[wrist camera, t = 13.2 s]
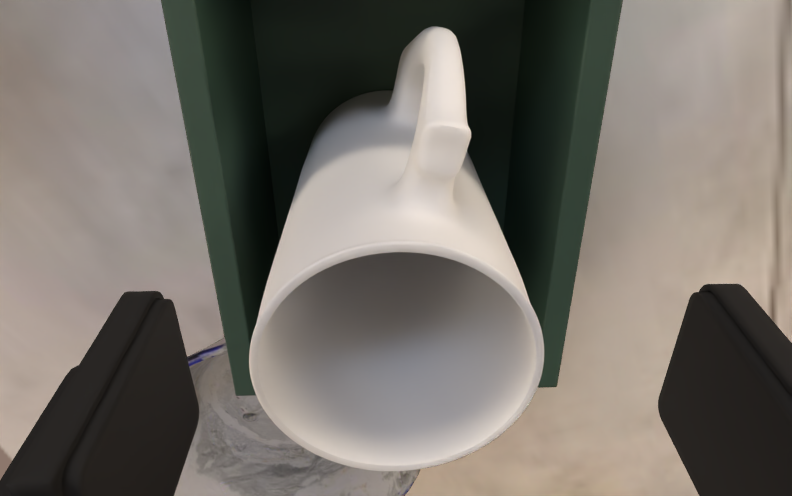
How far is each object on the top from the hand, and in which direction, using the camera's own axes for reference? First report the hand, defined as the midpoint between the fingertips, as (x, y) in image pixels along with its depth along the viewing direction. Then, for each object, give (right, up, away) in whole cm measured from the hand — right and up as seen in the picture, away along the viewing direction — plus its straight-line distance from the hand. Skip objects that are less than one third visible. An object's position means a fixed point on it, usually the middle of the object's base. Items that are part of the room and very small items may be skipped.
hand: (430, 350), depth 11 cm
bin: (-1, +7, +13) cm, 15 cm away
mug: (-1, +7, +12) cm, 14 cm away
